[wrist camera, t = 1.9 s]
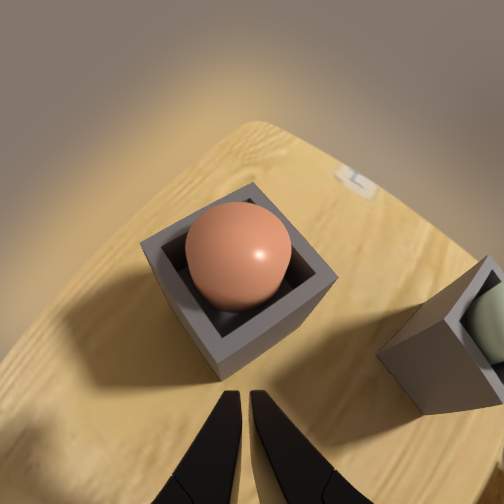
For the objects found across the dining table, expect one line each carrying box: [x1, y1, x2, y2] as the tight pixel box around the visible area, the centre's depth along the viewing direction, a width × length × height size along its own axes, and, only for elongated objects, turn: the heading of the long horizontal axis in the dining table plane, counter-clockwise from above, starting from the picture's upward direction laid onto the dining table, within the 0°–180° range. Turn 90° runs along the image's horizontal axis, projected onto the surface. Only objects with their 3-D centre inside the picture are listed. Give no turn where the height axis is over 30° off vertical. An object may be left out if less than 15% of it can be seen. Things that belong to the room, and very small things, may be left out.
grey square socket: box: [376, 254, 504, 415], centre depth 18 cm, size 7×7×9 cm
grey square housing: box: [140, 182, 338, 382], centre depth 19 cm, size 7×7×9 cm
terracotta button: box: [185, 202, 291, 313], centre depth 15 cm, size 5×5×2 cm
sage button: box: [466, 281, 504, 365], centre depth 14 cm, size 5×5×2 cm
